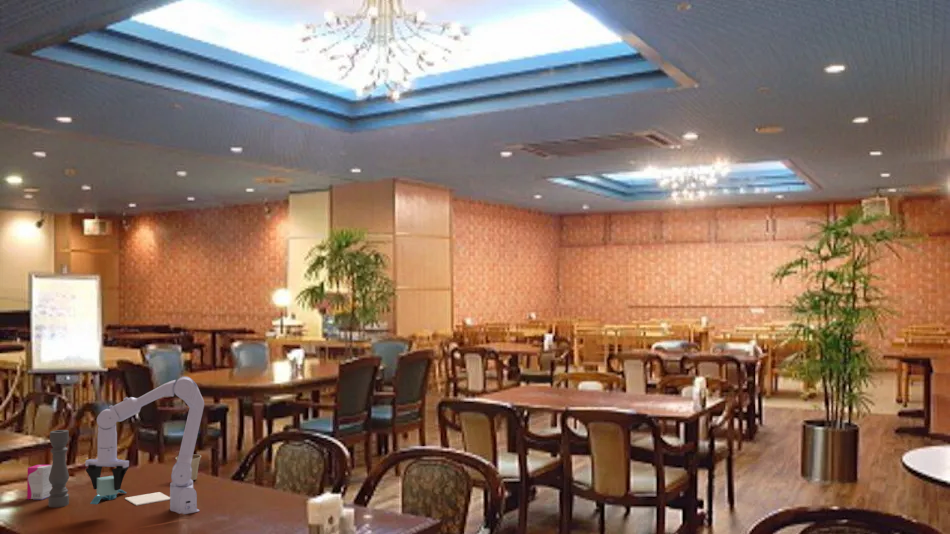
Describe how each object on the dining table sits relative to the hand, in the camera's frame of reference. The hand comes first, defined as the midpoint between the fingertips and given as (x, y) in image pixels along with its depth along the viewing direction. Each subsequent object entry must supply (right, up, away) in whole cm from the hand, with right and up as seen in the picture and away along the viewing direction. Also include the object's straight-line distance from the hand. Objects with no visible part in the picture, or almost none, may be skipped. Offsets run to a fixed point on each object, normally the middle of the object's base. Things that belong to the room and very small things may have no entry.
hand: (107, 489), depth 258 cm
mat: (+5, -9, +19) cm, 22 cm away
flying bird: (-10, -10, +21) cm, 25 cm away
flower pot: (+9, -10, +49) cm, 51 cm away
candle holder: (-22, -9, +12) cm, 27 cm away
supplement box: (-34, -10, +21) cm, 41 cm away
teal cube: (0, -1, 0) cm, 1 cm away
